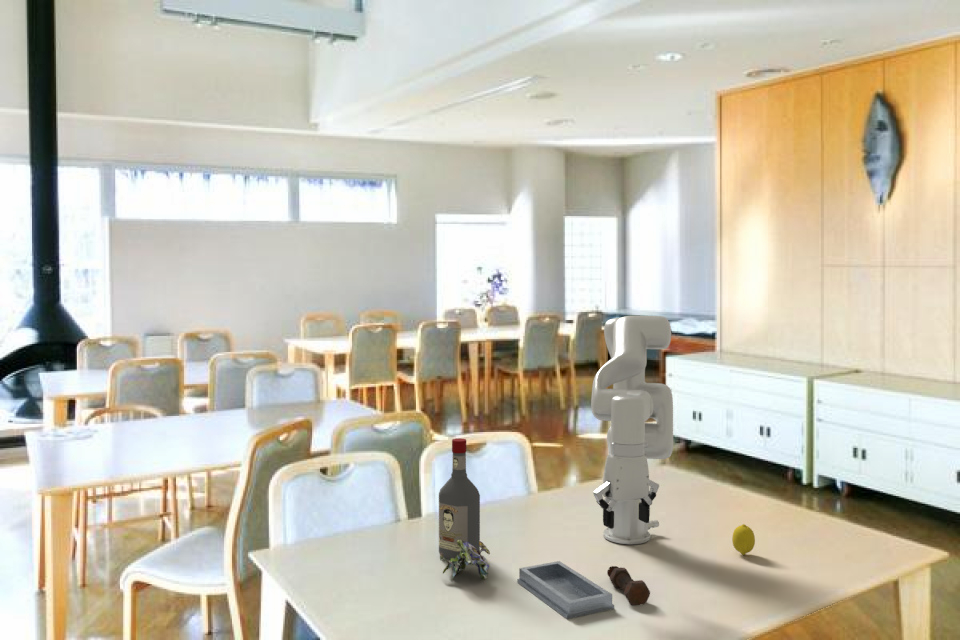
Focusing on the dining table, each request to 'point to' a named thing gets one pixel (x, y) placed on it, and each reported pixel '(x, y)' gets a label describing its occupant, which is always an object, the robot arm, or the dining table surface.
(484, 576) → the passion flower
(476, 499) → the liquor
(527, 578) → the tray
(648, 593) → the bolt
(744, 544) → the lemon
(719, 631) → the dining table surface
